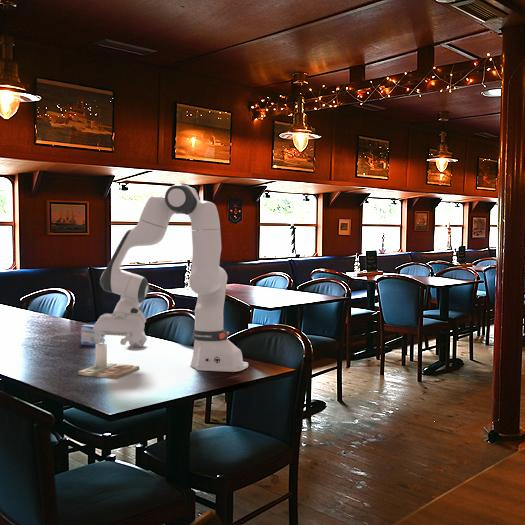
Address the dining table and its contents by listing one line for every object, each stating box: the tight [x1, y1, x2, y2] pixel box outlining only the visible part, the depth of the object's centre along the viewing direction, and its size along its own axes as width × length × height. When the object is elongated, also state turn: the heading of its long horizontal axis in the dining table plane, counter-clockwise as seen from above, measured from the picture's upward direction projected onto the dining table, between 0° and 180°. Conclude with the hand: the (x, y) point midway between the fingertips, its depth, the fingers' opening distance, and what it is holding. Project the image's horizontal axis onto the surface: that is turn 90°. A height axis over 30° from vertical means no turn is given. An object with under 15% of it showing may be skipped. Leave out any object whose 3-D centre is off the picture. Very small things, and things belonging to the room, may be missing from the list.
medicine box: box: [80, 324, 100, 347], centre depth 286 cm, size 8×4×9 cm, turn 68°
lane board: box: [77, 362, 140, 380], centre depth 233 cm, size 16×16×2 cm
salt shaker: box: [95, 342, 108, 368], centre depth 233 cm, size 4×4×9 cm
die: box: [127, 329, 148, 348], centre depth 282 cm, size 8×9×10 cm
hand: (111, 343), depth 239 cm, fingers open, 8 cm apart
